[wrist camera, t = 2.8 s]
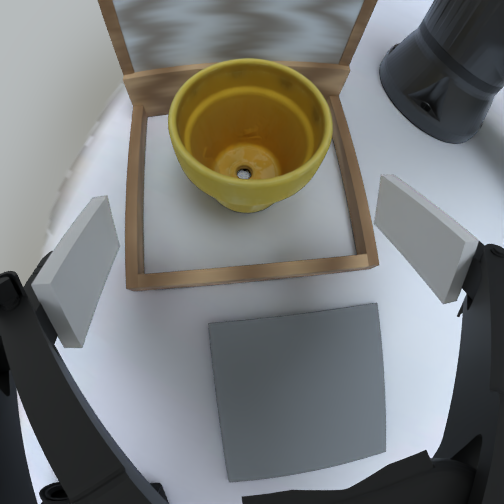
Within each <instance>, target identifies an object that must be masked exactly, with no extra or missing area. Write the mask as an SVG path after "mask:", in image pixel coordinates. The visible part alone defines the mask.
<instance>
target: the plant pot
mask: <svg viewBox="0 0 504 504" xmlns="http://www.w3.org/2000/svg"><path fill="white" fill-rule="evenodd" d="M168 129H169V134H170V138H171V141H172V145H173V148H174V151H175V154H176V156H177V159H178V161H179V163H180V165H181V167H182V169H183V171H184V172H185V174H186V175H187V177H188V178H189V179H190V180H191V181H192V182H193V183H194V184H195V185H196V186H197V187H198V188H199V189H200V190H202V191H203V192H205V193H206V194H208V195H210V196H212V197H213V198H215V199H216V200H217V201H218V202H219V203H220V204H222V205H223V206H225V207H226V208H228V209H230V210H233V211H236V212H242V213H252V212H257V211H261V210H263V209H265V208H267V207H269V206H271V205H272V204H273V203H275V202H278V201H281V200H283V199H286V198H288V197H290V196H292V195H293V194H295V193H297V192H298V191H299V190H301V189H302V188H303V187H304V186H305V185H306V184H307V183H308V182H309V181H310V180H311V178H312V177H313V176H314V174H315V173H316V171H317V170H318V168H319V166H320V164H321V163H322V161H323V159H324V157H325V155H326V153H327V151H328V149H329V146H330V143H331V140H332V134H333V121H332V115H331V111H330V108H329V106H328V103H327V102H326V100H325V98H324V96H323V95H322V93H321V92H320V91H319V90H318V88H317V87H316V86H315V85H314V84H313V83H312V82H311V81H310V80H309V79H307V78H306V77H305V76H303V75H302V74H300V73H299V72H297V71H295V70H294V69H292V68H290V67H287V66H285V65H282V64H279V63H276V62H273V61H269V60H263V59H254V58H243V59H233V60H228V61H223V62H220V63H216V64H214V65H211V66H209V67H206V68H204V69H203V70H201V71H199V72H198V73H196V74H195V75H193V76H192V77H191V78H189V79H188V80H187V81H186V82H185V83H184V84H183V85H182V86H181V88H180V89H179V90H178V92H177V93H176V95H175V97H174V99H173V101H172V104H171V107H170V110H169V116H168ZM240 169H248V170H249V171H250V172H251V177H250V178H249V179H240V178H239V177H238V176H237V172H238V171H239V170H240Z"/></svg>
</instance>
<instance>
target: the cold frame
mask: <svg viewBox="0 0 504 504" xmlns="http://www.w3.org/2000/svg"><path fill="white" fill-rule="evenodd" d="M377 1H378V0H98V3H99V6H100V9H101V12H102V15H103V18H104V21H105V24H106V27H107V30H108V32H109V36H110V38H111V41H112V44H113V47H114V50H115V53H116V55H117V58H118V61H119V64H120V66H121V69H122V72H123V75H124V77H123V82H124V84H125V87H126V89H127V92H128V94H129V97H130V100H131V102H132V105H133V114H132V122H131V132H130V142H129V154H128V167H127V184H126V210H125V269H126V289H129V290H132V291H143V290H157V289H170V288H184V287H196V286H208V285H220V284H231V283H242V282H253V281H264V280H274V279H284V278H294V277H304V276H313V275H322V274H331V273H340V272H349V271H357V270H366V269H371V268H373V267H376V266H378V265H379V259H378V253H377V248H376V242H375V237H374V231H373V226H372V221H371V216H370V212H369V207H368V202H367V198H366V193H365V189H364V185H363V181H362V176H361V172H360V168H359V164H358V161H357V157H356V153H355V149H354V146H353V142H352V139H351V135H350V132H349V128H348V125H347V121H346V118H345V115H344V112H343V109H342V105H341V102H340V99H339V94H340V92H341V90H342V88H343V86H344V83H345V81H346V79H347V77H348V75H349V73H350V68H349V64H350V62H351V60H352V57H353V55H354V53H355V51H356V48H357V46H358V44H359V42H360V39H361V37H362V35H363V33H364V30H365V28H366V26H367V23H368V21H369V19H370V17H371V14H372V12H373V10H374V7H375V5H376V3H377ZM243 58H254V59H263V60H269V61H273V62H276V63H279V64H282V65H285V66H287V67H290V68H292V69H294V70H295V71H297V72H299V73H300V74H302V75H303V76H305V77H306V78H307V79H309V80H310V81H311V82H312V83H313V84H314V85H315V86H316V87H317V88H318V90H319V91H320V92H321V93H322V95H323V96H324V98H325V100H326V102H327V103H328V106H329V108H330V111H331V115H332V121H333V134H332V138H333V142H334V146H335V150H336V154H337V158H338V162H339V166H340V170H341V175H342V179H343V184H344V188H345V193H346V198H347V203H348V208H349V213H350V218H351V223H352V229H353V234H354V240H355V246H356V252H357V255H352V256H342V257H331V258H321V259H311V260H300V261H289V262H279V263H268V264H257V265H245V266H234V267H223V268H211V269H199V270H187V271H175V272H163V273H150V274H144V244H143V196H144V164H145V145H146V130H147V118H148V117H151V116H158V115H166V114H169V110H170V107H171V104H172V101H173V99H174V97H175V95H176V93H177V92H178V90H179V89H180V88H181V86H182V85H183V84H184V83H185V82H186V81H187V80H188V79H189V78H191V77H192V76H193V75H195V74H196V73H198V72H199V71H201V70H203V69H204V68H206V67H209V66H211V65H214V64H216V63H220V62H223V61H228V60H233V59H243Z"/></svg>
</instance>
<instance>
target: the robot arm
mask: <svg viewBox="0 0 504 504" xmlns="http://www.w3.org/2000/svg"><path fill="white" fill-rule="evenodd" d="M380 78H381V82H382V84H383V87H384V89H385V91H386V93H387V94H388V96H389V97H390V99H391V100H392V102H393V103H394V104H395V105H396V107H397V108H398V109H399V110H400V111H401V112H402V113H403V114H404V115H405V116H406V117H407V118H408V119H409V120H410V121H411V122H412V123H414V124H415V125H416V126H417V127H419V128H420V129H422V130H423V131H424V132H426V133H428V134H429V135H431V136H433V137H435V138H437V139H439V140H442V141H445V142H449V143H463V142H466V141H467V140H469V139H470V138H471V137H472V136H473V135H475V134H476V133H477V132H478V131H479V129H480V128H481V126H482V123H483V120H484V118H485V116H486V114H487V112H488V110H489V108H490V106H491V103H492V101H493V99H494V96H495V95H496V94H497V93H498V92H499V91H500V90H501V89H502V88H503V87H504V0H434V2H433V4H432V5H431V7H430V9H429V11H428V12H427V14H426V16H425V17H424V19H423V21H422V22H421V24H420V26H419V27H418V29H416V30H415V31H414V32H412V33H411V34H410V35H409V36H407V37H406V38H405V39H404V40H403V41H402V42H401V43H399V44H397V45H395V46H393V47H392V48H391V49H390V50H389V51H388V52H387V54H386V56H385V57H384V59H383V61H382V63H381V65H380ZM374 224H375V225H376V226H377V227H378V229H379V230H380V231H381V232H382V233H383V234H384V235H385V236H386V237H387V238H388V239H389V241H390V242H391V243H392V244H393V245H394V246H395V247H396V248H397V250H398V251H399V252H400V253H401V254H402V255H403V256H404V257H405V259H406V260H407V261H408V262H409V263H410V264H411V266H412V267H413V268H414V269H415V270H416V272H417V273H418V274H419V275H420V276H421V277H422V279H423V280H424V281H425V282H426V284H427V285H428V286H429V287H430V288H431V290H432V291H433V292H434V293H435V295H436V296H437V297H438V298H439V300H440V301H441V302H442V304H446V303H450V302H454V301H457V299H458V296H459V294H460V292H461V289H463V290H464V291H465V292H466V293H467V294H466V297H465V299H464V301H463V304H462V306H461V308H460V310H459V312H458V315H457V317H460V314H462V313H463V318H462V330H461V341H460V350H459V358H458V365H457V372H456V378H455V384H454V390H453V395H452V400H451V405H450V410H449V414H448V419H447V423H446V427H445V431H444V435H443V439H442V442H441V444H440V446H439V448H438V450H437V452H436V453H435V455H434V456H433V458H430V457H429V455H428V453H427V450H425V451H422V452H420V453H417V454H415V455H412V456H410V457H407V458H405V459H402V460H400V461H397V462H394V463H391V464H389V465H387V466H385V467H384V468H382V469H381V470H379V471H377V472H376V473H374V474H373V475H371V476H369V477H368V478H366V479H364V480H362V481H361V482H359V483H357V484H356V485H354V486H352V487H350V488H348V489H344V490H288V491H282V492H276V493H269V494H262V495H253V496H244V497H242V503H243V504H504V248H502V247H500V246H498V245H494V244H487V245H485V246H484V245H483V244H482V243H481V242H480V241H479V240H478V239H477V238H476V237H474V236H473V235H472V234H471V233H470V232H469V231H467V230H466V229H465V228H464V227H463V226H461V225H460V224H459V223H458V222H456V221H455V220H454V219H453V218H451V217H450V216H449V215H448V214H446V213H445V212H444V211H443V210H441V209H440V208H439V207H437V206H436V205H435V204H434V203H432V202H431V201H430V200H428V199H427V198H426V197H424V196H423V195H421V194H420V193H419V192H417V191H416V190H415V189H413V188H412V187H410V186H409V185H408V184H406V183H405V182H403V181H402V180H400V179H399V178H398V177H396V176H395V175H381V177H380V185H379V193H378V200H377V207H376V214H375V220H374ZM119 248H120V245H119V241H118V237H117V234H116V230H115V226H114V222H113V218H112V214H111V209H110V205H109V201H108V196H100V197H94V198H92V199H91V201H90V202H89V203H88V204H87V206H86V207H85V208H84V209H83V211H82V212H81V213H80V215H79V216H78V217H77V219H76V220H75V221H74V223H73V224H72V225H71V227H70V228H69V229H68V231H67V232H66V233H65V235H64V236H63V238H62V239H61V240H60V242H59V243H58V245H57V246H56V248H55V249H54V250H53V251H51V252H49V253H48V254H47V255H46V256H45V257H44V258H42V260H41V261H40V263H39V264H38V266H37V268H36V269H35V270H34V272H33V275H31V276H30V278H29V279H28V281H27V282H26V284H25V286H24V287H23V286H22V284H21V282H20V279H19V277H18V275H17V273H16V272H13V271H8V272H4V273H2V274H0V504H38V503H37V500H36V497H35V493H34V489H33V486H32V482H31V478H30V474H29V469H28V465H27V460H26V455H25V450H24V445H23V439H22V433H21V426H20V419H19V411H18V401H17V391H18V393H19V396H20V399H21V402H22V404H23V407H24V409H25V412H26V414H27V417H28V419H29V422H30V424H31V426H32V429H33V431H34V433H35V435H36V437H37V440H38V442H39V444H40V446H41V448H42V450H43V452H44V454H45V456H46V458H47V460H48V462H49V464H50V466H51V468H52V469H53V471H54V473H55V475H56V477H57V478H58V480H59V482H60V484H61V485H62V487H63V489H64V490H65V492H66V494H67V496H68V497H69V499H70V503H71V504H169V503H168V502H167V501H166V500H165V499H164V498H163V497H162V496H161V495H160V494H159V493H158V492H157V491H156V490H155V489H154V488H153V487H152V486H151V485H150V483H149V482H148V481H147V480H146V479H145V478H144V477H143V475H142V474H141V473H140V472H139V471H138V470H137V468H136V467H135V466H134V465H133V464H132V462H131V461H130V460H129V459H128V457H127V456H126V455H125V454H124V452H123V451H122V450H121V448H120V447H119V446H118V445H117V443H116V442H115V441H114V439H113V438H112V437H111V435H110V434H109V432H108V431H107V430H106V428H105V427H104V425H103V424H102V423H101V421H100V420H99V418H98V417H97V415H96V414H95V412H94V411H93V409H92V408H91V406H90V405H89V403H88V402H87V400H86V398H85V397H84V395H83V394H82V392H81V390H80V389H79V387H78V386H77V384H76V382H75V381H74V379H73V377H72V375H71V374H70V372H69V370H68V368H67V367H66V365H65V363H64V361H63V359H62V357H61V356H60V354H59V352H58V350H57V348H56V347H55V345H54V344H55V341H56V339H57V336H58V338H59V339H60V341H61V343H62V345H63V346H64V348H83V345H84V341H85V338H86V335H87V332H88V329H89V326H90V323H91V320H92V317H93V315H94V312H95V309H96V306H97V303H98V301H99V298H100V295H101V292H102V290H103V287H104V285H105V282H106V279H107V277H108V274H109V272H110V269H111V267H112V264H113V262H114V260H115V257H116V255H117V252H118V250H119ZM16 388H17V390H16Z"/></svg>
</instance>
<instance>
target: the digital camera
mask: <svg viewBox="0 0 504 504" xmlns="http://www.w3.org/2000/svg"><path fill="white" fill-rule="evenodd" d="M150 485H151V486H152V487H153V488H154V489H155V490H156V491H157V492H158V493H159V494H160V495H161V496H162V497H163V498H164V499H165V500H166V501H167V502H168V500H167V497H166V495H165V492H164V490H163V487H162V485H161V484H160V483H150ZM159 489H160V490H159ZM39 495H40V498H41V499H42V501H43V502H42V503H41V504H71V503H70V499H69V497H68V496H67V494H66V492H65V490H64V489H63V487H62V485H61V484H60V482H56V483H52V484H49V485H47V486H45V487H44V488H42V489H41V490H40V492H39ZM168 503H169V502H168Z"/></svg>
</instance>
